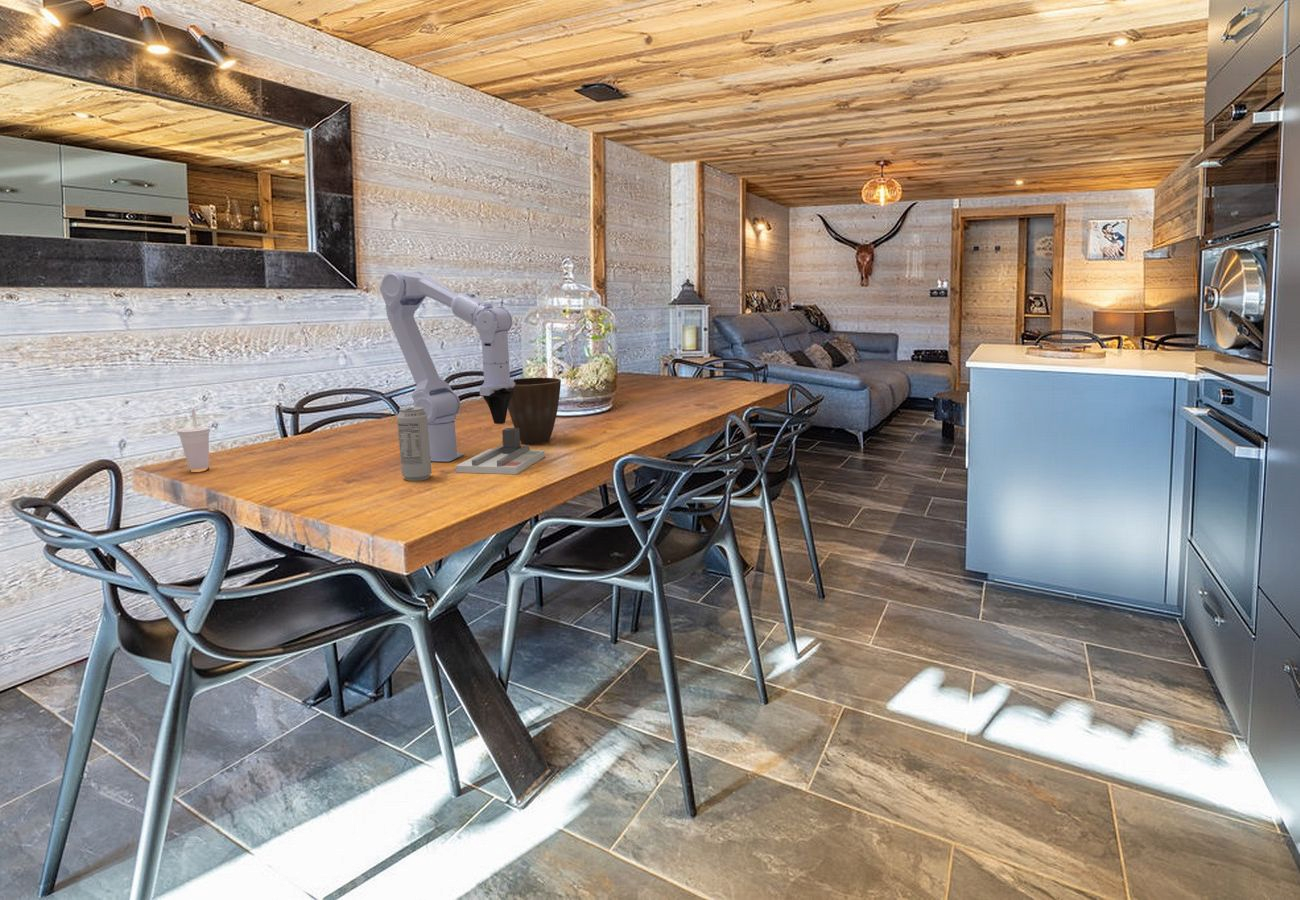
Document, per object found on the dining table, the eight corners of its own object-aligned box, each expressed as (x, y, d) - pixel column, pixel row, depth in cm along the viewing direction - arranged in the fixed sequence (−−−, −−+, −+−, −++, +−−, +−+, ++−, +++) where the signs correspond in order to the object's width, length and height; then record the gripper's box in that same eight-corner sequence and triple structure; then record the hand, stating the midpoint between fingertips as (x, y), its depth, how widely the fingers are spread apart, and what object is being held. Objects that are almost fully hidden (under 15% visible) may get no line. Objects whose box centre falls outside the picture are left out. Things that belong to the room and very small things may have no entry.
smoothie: (221, 468, 175) (213, 408, 172) (195, 475, 169) (186, 412, 166) (203, 466, 178) (194, 407, 175) (176, 472, 172) (167, 411, 169)
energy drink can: (437, 476, 164) (432, 406, 161) (418, 482, 158) (412, 411, 155) (415, 473, 166) (410, 405, 163) (396, 480, 161) (389, 409, 158)
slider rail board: (456, 472, 167) (455, 460, 166) (489, 455, 184) (489, 444, 183) (516, 474, 164) (515, 462, 163) (544, 456, 181) (544, 445, 181)
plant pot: (538, 450, 189) (534, 385, 186) (493, 444, 197) (489, 382, 193) (575, 439, 201) (572, 379, 198) (531, 434, 209) (528, 376, 206)
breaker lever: (502, 453, 178) (501, 430, 177) (509, 450, 182) (507, 427, 181) (514, 453, 177) (513, 430, 176) (521, 450, 181) (519, 427, 180)
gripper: (500, 366, 162) (503, 429, 165) (525, 359, 176) (528, 418, 178) (469, 366, 163) (473, 428, 166) (496, 359, 177) (499, 417, 180)
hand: (499, 423), depth 172 cm, fingers closed
